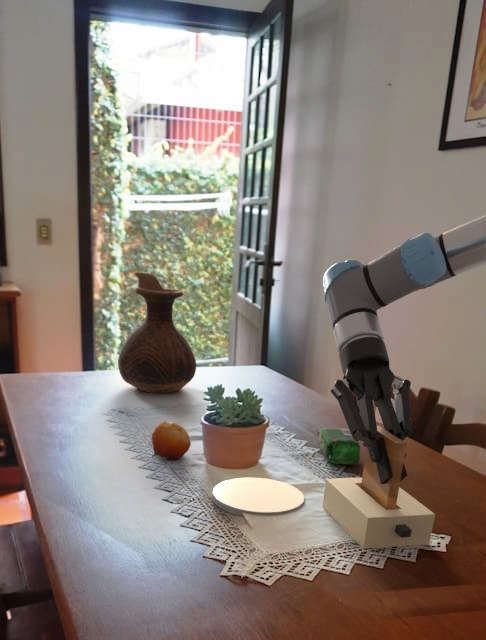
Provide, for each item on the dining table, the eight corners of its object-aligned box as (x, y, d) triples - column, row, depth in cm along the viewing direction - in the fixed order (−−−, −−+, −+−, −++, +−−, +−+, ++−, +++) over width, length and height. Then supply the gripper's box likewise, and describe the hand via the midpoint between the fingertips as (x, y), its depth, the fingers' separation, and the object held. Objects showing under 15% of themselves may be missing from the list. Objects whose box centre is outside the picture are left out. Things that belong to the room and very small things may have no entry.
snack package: (346, 446, 151) (349, 423, 149) (361, 470, 137) (364, 445, 135) (314, 444, 151) (317, 421, 149) (326, 468, 137) (328, 443, 135)
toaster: (380, 508, 119) (385, 476, 117) (435, 555, 103) (442, 519, 101) (321, 511, 116) (325, 478, 114) (368, 560, 100) (374, 523, 98)
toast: (365, 512, 114) (379, 425, 108) (391, 535, 106) (407, 443, 100) (356, 512, 114) (369, 425, 108) (381, 535, 106) (397, 443, 100)
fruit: (148, 440, 143) (168, 410, 139) (179, 462, 143) (200, 433, 140) (137, 452, 135) (158, 421, 132) (169, 475, 136) (191, 445, 132)
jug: (203, 383, 199) (208, 276, 188) (184, 400, 180) (189, 282, 168) (132, 376, 204) (133, 270, 192) (106, 392, 184) (106, 276, 173)
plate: (285, 481, 128) (286, 475, 128) (317, 516, 114) (318, 510, 114) (203, 485, 125) (203, 478, 124) (225, 521, 111) (225, 514, 110)
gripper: (391, 361, 116) (425, 487, 108) (311, 360, 113) (339, 491, 105) (412, 334, 110) (450, 467, 101) (327, 333, 106) (359, 471, 98)
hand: (393, 479), depth 103 cm, fingers closed on toast, 2 cm apart
